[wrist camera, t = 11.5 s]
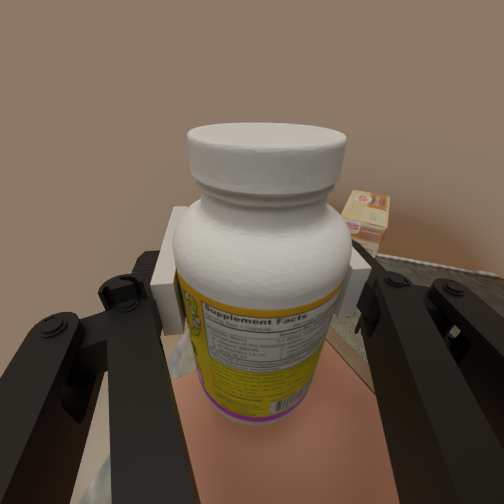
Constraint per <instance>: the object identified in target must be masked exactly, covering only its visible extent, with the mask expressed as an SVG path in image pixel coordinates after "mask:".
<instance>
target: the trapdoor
mask: <svg viewBox="0 0 504 504" xmlns="http://www.w3.org/2000/svg"><path fill="white" fill-rule="evenodd" d="M171 382H172V387H173V391H174V395H175V399H176V403H177V407H178V411H179V415H180V419H181V424H182V428H183V432H184V436H185V440H186V444H187V448H188V452H189V457H190V461H191V465H192V469H193V473H194V477H195V481H196V485H197V490H198V494H199V498H200V502H201V504H400V502H399V498H398V493H397V489H396V485H395V480H394V476H393V471H392V467H391V462H390V458H389V453H388V449H387V444H386V440H385V435H384V431H383V426H382V422H381V417H380V413H379V408H378V404H377V399H376V396H375V395H374V394H373V392H372V391H371V390H370V389H369V388H368V387H367V386H366V385H365V383H364V382H363V381H362V380H361V379H360V378H359V377H358V376H357V374H356V373H355V372H354V371H353V370H352V369H351V368H350V367H349V365H348V364H347V363H346V362H345V361H344V360H343V359H342V358H341V356H340V355H339V354H338V353H337V352H336V351H335V350H334V349H333V348H332V346H331V345H330V344H329V343H328V342H327V341H326V340H325V341H324V345H323V348H322V351H321V354H320V357H319V361H318V364H317V367H316V370H315V373H314V376H313V380H312V383H311V385H310V388H309V390H308V393H307V395H306V397H305V398H304V400H303V402H302V403H301V404H300V406H299V407H298V408H297V409H296V410H295V411H294V412H293V413H291V414H290V415H289V416H287V417H286V418H284V419H282V420H280V421H277V422H275V423H272V424H267V425H245V424H240V423H237V422H234V421H232V420H230V419H228V418H227V417H225V416H224V415H222V414H221V413H220V412H218V411H217V410H216V409H215V408H214V407H213V406H212V404H211V403H210V402H209V400H208V399H207V397H206V396H205V394H204V392H203V389H202V387H201V384H200V380H199V376H198V372H197V370H196V371H193V372H191V373H189V374H187V375H184V376H182V377H180V378H178V379H175V380H173V381H171Z"/></svg>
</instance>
